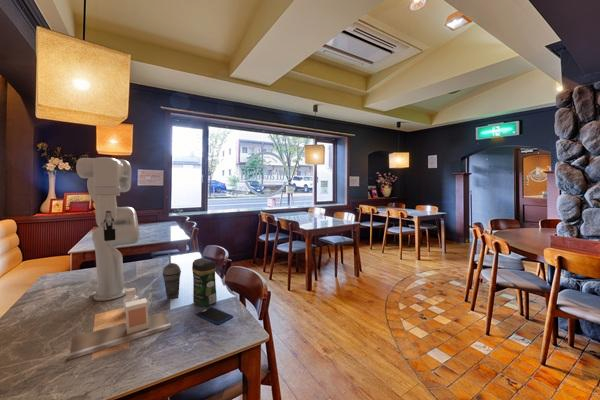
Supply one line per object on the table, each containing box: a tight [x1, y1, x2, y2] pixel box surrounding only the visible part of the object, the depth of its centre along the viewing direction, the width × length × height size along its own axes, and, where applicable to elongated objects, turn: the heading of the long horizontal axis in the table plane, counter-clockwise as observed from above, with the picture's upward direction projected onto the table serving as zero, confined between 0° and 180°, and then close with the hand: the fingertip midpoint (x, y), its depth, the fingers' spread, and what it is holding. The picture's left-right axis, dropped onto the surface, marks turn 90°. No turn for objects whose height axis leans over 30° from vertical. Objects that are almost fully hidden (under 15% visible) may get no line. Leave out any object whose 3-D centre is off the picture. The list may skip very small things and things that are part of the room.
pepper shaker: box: [122, 287, 140, 313], centre depth 100 cm, size 4×4×10 cm
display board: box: [68, 312, 172, 360], centre depth 85 cm, size 26×13×2 cm, turn 128°
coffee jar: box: [191, 257, 218, 308], centre depth 109 cm, size 10×8×19 cm
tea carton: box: [125, 297, 149, 334], centre depth 87 cm, size 4×6×9 cm
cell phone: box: [195, 306, 234, 326], centre depth 98 cm, size 7×14×1 cm, turn 56°
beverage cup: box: [162, 253, 182, 301], centre depth 113 cm, size 7×7×20 cm
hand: (109, 238), depth 95 cm, fingers open, 9 cm apart
